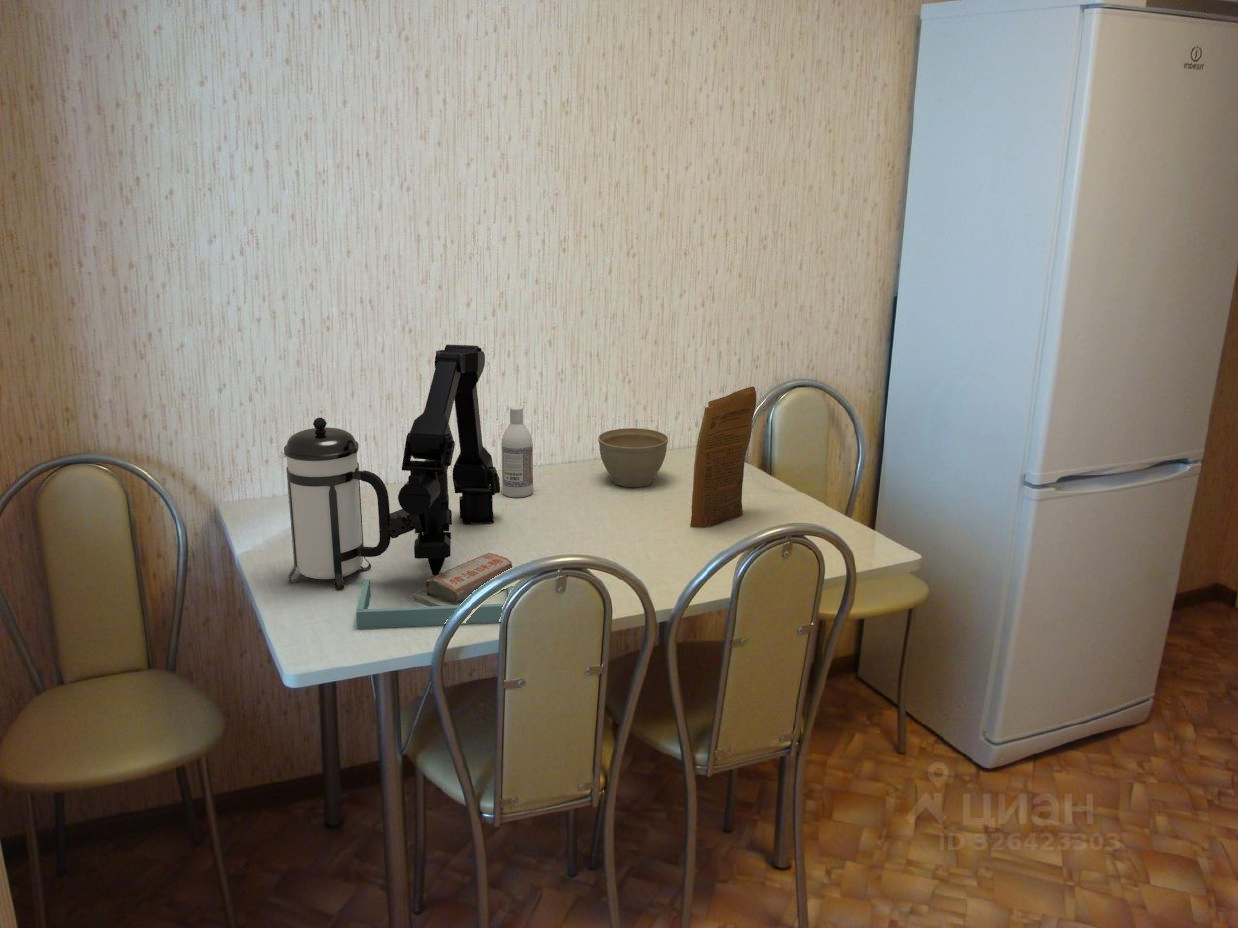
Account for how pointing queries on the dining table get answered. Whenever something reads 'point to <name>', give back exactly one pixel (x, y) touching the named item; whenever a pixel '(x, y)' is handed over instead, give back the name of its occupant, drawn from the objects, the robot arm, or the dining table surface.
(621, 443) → the planter bowl
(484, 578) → the packaged product
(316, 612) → the dining table surface
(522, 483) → the bath foam
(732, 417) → the pancake mix bag
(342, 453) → the coffee press
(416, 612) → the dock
